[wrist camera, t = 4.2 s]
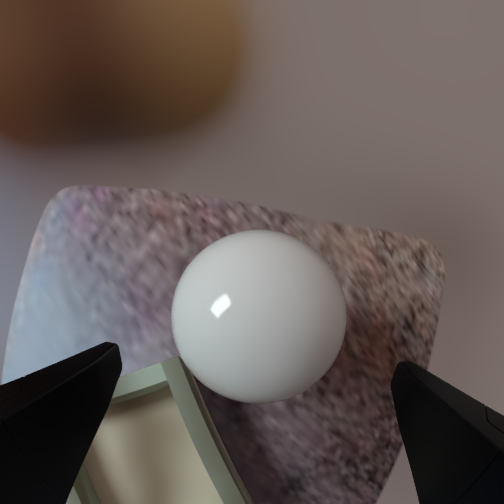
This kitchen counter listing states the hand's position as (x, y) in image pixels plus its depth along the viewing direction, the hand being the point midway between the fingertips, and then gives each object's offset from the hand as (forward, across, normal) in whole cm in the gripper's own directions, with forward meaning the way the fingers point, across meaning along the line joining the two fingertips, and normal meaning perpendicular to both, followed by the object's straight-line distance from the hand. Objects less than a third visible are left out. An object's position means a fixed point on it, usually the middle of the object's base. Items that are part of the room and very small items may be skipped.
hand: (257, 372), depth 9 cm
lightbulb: (+8, 0, +5) cm, 10 cm away
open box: (+3, +6, +10) cm, 12 cm away
